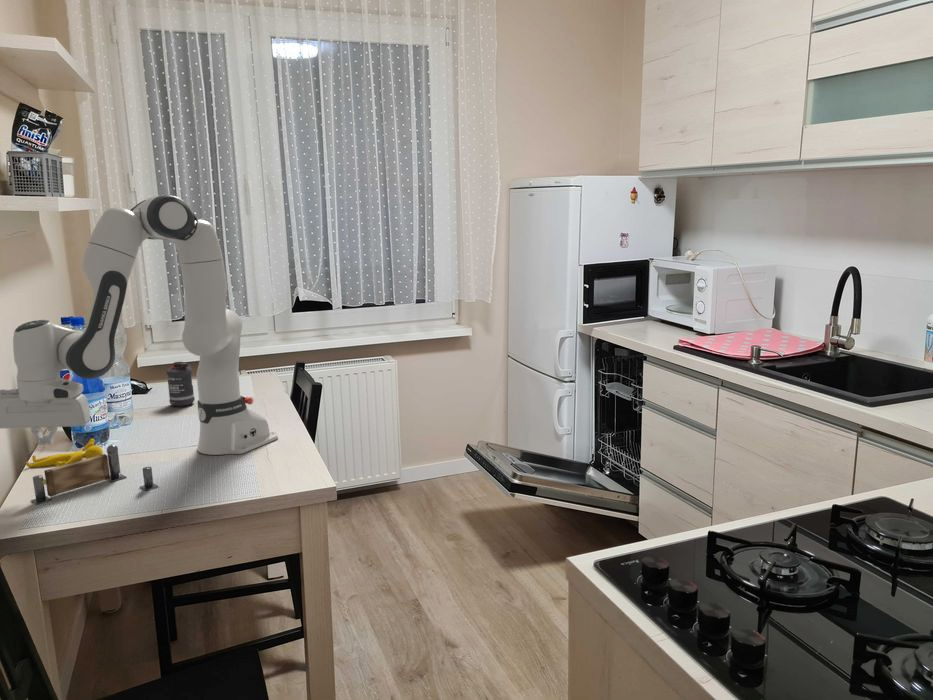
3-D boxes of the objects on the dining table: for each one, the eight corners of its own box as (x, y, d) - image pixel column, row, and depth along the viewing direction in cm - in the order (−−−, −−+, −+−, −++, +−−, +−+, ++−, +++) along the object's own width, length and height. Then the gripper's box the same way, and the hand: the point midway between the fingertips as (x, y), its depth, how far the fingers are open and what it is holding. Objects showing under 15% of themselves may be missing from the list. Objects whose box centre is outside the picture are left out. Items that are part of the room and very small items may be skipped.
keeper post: (152, 483, 172) (150, 464, 171) (158, 486, 170) (156, 467, 169) (139, 487, 170) (137, 468, 169) (145, 491, 168) (143, 471, 167)
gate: (107, 477, 175) (104, 454, 174) (110, 478, 174) (107, 455, 173) (47, 495, 165) (44, 470, 164) (50, 496, 164) (46, 472, 163)
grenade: (200, 403, 242) (196, 361, 239) (181, 409, 235) (177, 366, 232) (183, 400, 246) (179, 359, 243) (164, 406, 239) (160, 363, 236)
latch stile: (45, 496, 165) (42, 473, 164) (51, 500, 163) (47, 476, 162) (31, 501, 163) (27, 477, 162) (36, 504, 161) (32, 480, 160)
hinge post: (119, 474, 179) (115, 441, 177) (126, 477, 176) (122, 444, 175) (105, 478, 176) (101, 445, 174) (111, 482, 174) (107, 448, 172)
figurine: (36, 447, 191) (106, 435, 195) (40, 462, 192) (110, 450, 196) (17, 464, 178) (93, 452, 182) (22, 481, 180) (97, 468, 183)
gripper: (-15, 393, 161) (-7, 449, 164) (79, 391, 164) (85, 446, 167) (-1, 386, 167) (6, 440, 170) (89, 384, 170) (95, 438, 173)
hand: (46, 443), depth 168 cm, fingers closed
